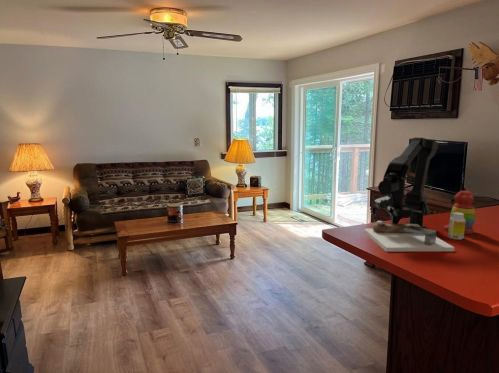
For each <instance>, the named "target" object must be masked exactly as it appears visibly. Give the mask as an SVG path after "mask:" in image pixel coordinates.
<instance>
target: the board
mask: <svg viewBox="0 0 499 373" xmlns="http://www.w3.org/2000/svg"><path fill="white" fill-rule="evenodd" d="M376 223H377V224H379V225H382V224H383V223H384V221H382V220H377V221H376ZM363 233H364V234H365V235H367V237H368V238H370V239H371V240H372V241H373V242H375V243H376V244H377V245H378V246H379V247H381V249H383V251H385V252H455V247H454V246H453V245H451V244H450V243H447V242H446V241H444V240H442V239H441V238H439V237H438V236H436V243H434V244H432V245H430V246H429V245H425V244H424V242H425V235H421V234H417V233H413V232H376V231H374V230H373V228H363Z"/></svg>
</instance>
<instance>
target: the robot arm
mask: <svg viewBox="0 0 499 373" xmlns="http://www.w3.org/2000/svg"><path fill="white" fill-rule="evenodd" d="M438 148H439V143H438V142H437V141H436V140H435V139H433V138H432V139H430V138H429V139H428V138H424V137H413V138H411V140H410V143H408V145H407V146H406V147H405V149H404V150H403V151H402V153H401V154H400V155H399V156H397V157H394V158H393V159H392V160H391V161H390V162H389V164H388V165H387V168H386V170H385V172H384V175H383V180H382V181H380V182H379V183H378V186H377V188H378V191H379V193H380V194H381V195H384V196H382V197H379V198H376V199H374V203H375V207H376V208H377V209H378V210H383V209H385V208H387V209H385V211H386V212H387V213H388V214H389V216H390V222H391V224H399V222H400V221H401V220H402V218H403V217H404V218H408V222H405V224H418V225H420V226H421V228H426V227H427V226H426V225H424V222H423V221H424V216H425V215H429V212H430V208H429V206H428V203H427V196H426V193H425V186H426V182H427V176H428V172H429V166H430V163H431V162H430V161H431V159H432V158H434V156H435V155H436V153H437V150H438ZM416 156H417V162H416V168H415V173H414V178H413V179H414V180H413V184H412V189H411V190H410V191H409V192H407V193H406V194H405V192H406V191H405V189H406V182H407V180H408V177H407V176H408V174H409V172H410V170H411V163H412V161H413V160H414V158H416Z"/></svg>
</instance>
